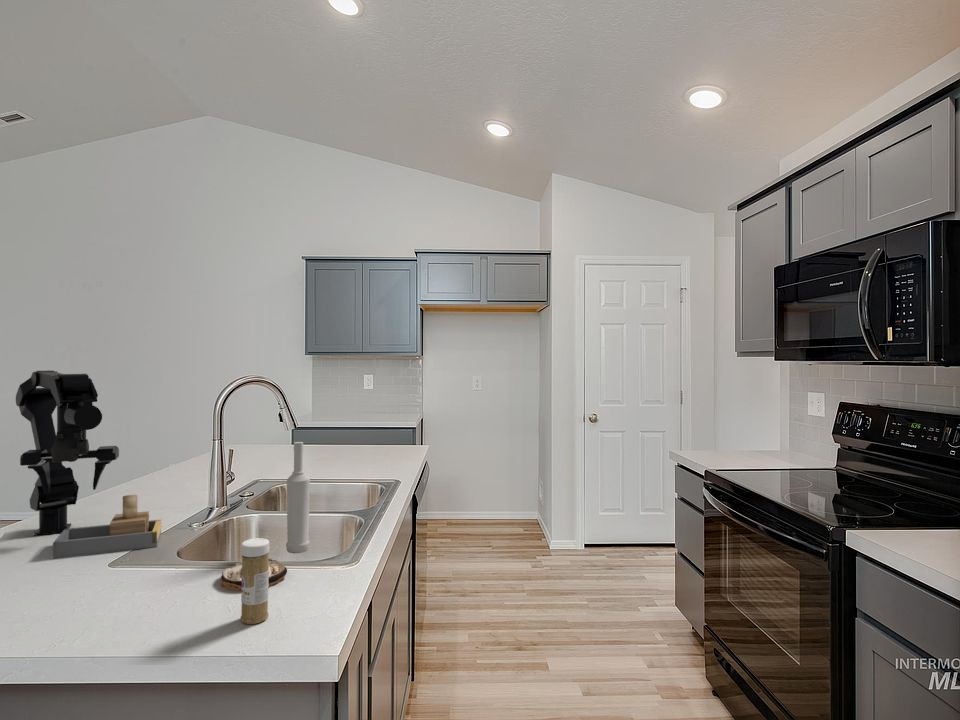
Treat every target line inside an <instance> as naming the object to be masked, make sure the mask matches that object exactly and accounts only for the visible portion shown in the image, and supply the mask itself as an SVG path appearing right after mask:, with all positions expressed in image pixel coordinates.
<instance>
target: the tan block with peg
mask: <svg viewBox="0 0 960 720" xmlns="http://www.w3.org/2000/svg"><path fill="white" fill-rule="evenodd" d="M149 519H150V511H138V495H137V494H126V495H123V496H122V513H116V514H114V516H113V518H112V519H111V521H110V523H109V524H110V536H111V535H121V534H131V533H140V532H149V521H150V520H149Z"/></svg>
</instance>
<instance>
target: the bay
mask: <svg viewBox="0 0 960 720" xmlns="http://www.w3.org/2000/svg"><path fill="white" fill-rule="evenodd" d="M161 535H162V519H154V520H152V519H151V520H149V532H140V533H131V534H121V535H111V536H110V523H109V524H102V525H101V524H99V525H92V526H91V525H90V526H79V527H70V528H68V529H64V531H63V532H61V533H59V535H58V537H56V539H55V540H54V541H53V542H52V559H61V558H70V557H80V556H89V555H96V554H104V553H106V554H107V553H113V552H114V553H115V552H122V551H131V550H132V551H133V550H139V549H140V550H141V549H142V550H143V549H151V548H157V547H158V543H159V542H160V538H161Z"/></svg>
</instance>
